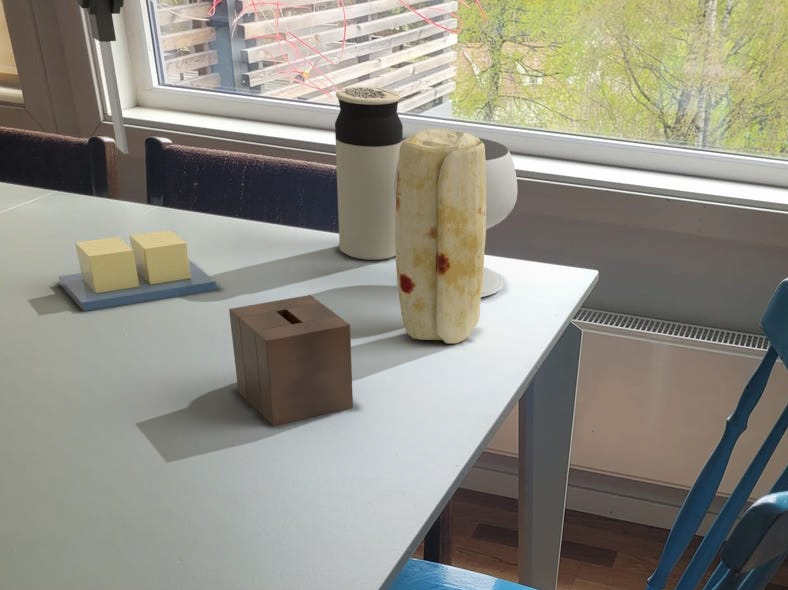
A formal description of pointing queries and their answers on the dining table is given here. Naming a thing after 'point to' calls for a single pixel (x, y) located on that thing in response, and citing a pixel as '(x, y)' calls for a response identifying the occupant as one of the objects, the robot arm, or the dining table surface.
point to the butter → (133, 271)
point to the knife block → (292, 359)
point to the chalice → (494, 198)
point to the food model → (440, 233)
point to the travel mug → (367, 170)
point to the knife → (109, 66)
